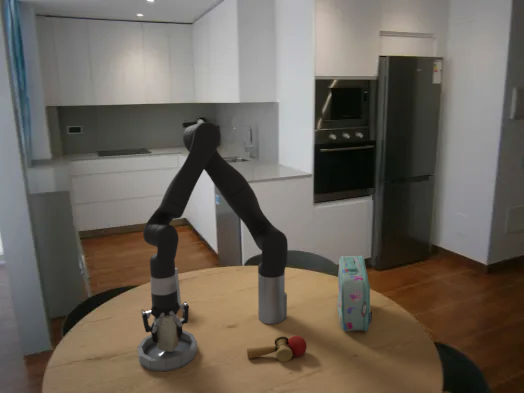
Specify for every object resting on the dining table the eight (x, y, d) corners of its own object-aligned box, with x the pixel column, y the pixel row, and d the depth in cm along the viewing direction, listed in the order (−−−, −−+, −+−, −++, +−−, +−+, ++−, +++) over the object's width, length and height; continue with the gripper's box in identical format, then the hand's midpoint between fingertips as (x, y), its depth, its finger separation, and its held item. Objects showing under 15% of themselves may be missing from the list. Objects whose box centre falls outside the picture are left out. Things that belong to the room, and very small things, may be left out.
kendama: (250, 371, 120) (310, 359, 121) (246, 350, 120) (307, 338, 121) (248, 360, 128) (305, 348, 129) (245, 340, 127) (302, 329, 129)
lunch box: (372, 340, 133) (376, 278, 128) (339, 338, 134) (342, 276, 129) (362, 301, 159) (365, 248, 154) (335, 300, 160) (337, 247, 155)
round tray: (188, 333, 137) (188, 324, 137) (203, 361, 122) (202, 352, 121) (135, 345, 130) (134, 336, 130) (143, 377, 115) (142, 367, 114)
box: (179, 344, 127) (177, 311, 125) (171, 352, 123) (169, 318, 121) (164, 341, 129) (162, 309, 126) (156, 349, 125) (154, 315, 122)
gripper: (185, 279, 128) (187, 328, 132) (137, 287, 122) (141, 338, 126) (191, 288, 121) (193, 339, 125) (140, 298, 115) (145, 351, 119)
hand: (167, 339), depth 125 cm, fingers closed on box, 6 cm apart
